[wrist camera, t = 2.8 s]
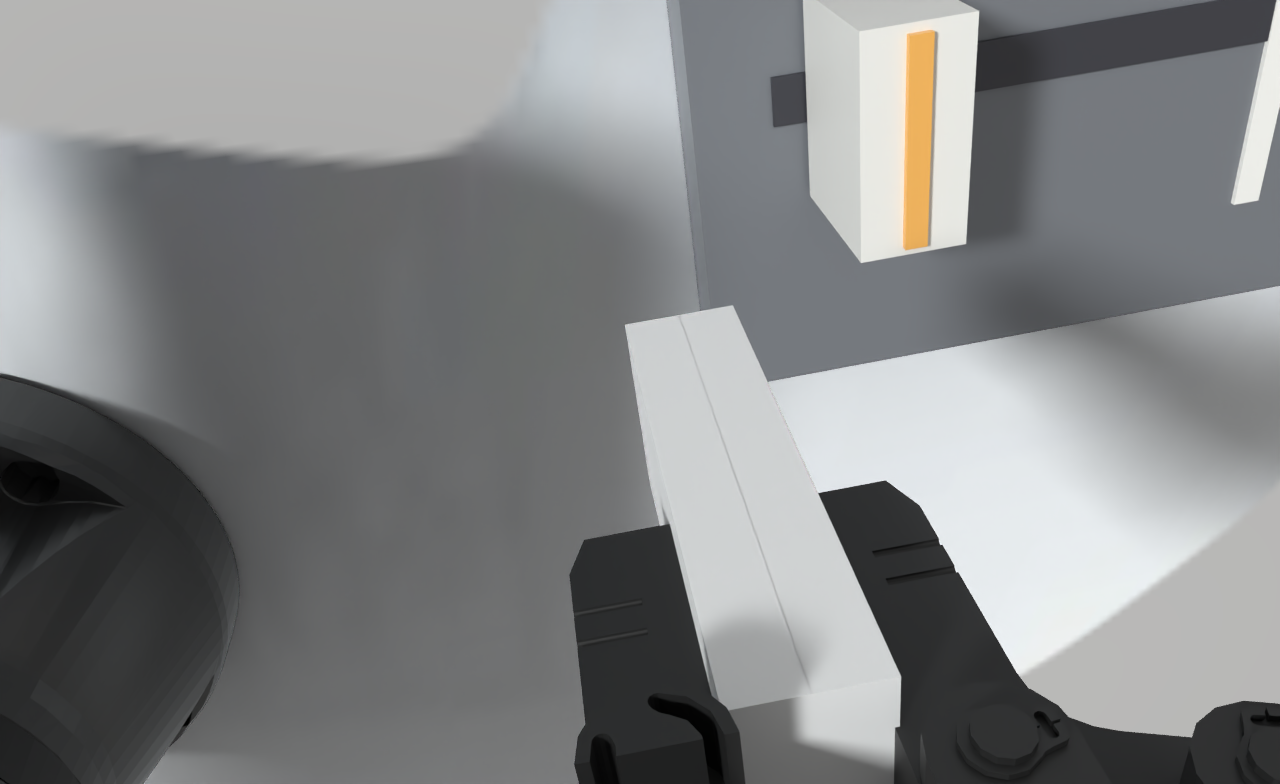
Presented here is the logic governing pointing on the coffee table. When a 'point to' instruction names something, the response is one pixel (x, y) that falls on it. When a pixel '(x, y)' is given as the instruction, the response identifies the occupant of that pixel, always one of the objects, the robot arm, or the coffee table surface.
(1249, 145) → the console
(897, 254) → the fader cap
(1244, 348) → the coffee table surface
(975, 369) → the coffee table surface
